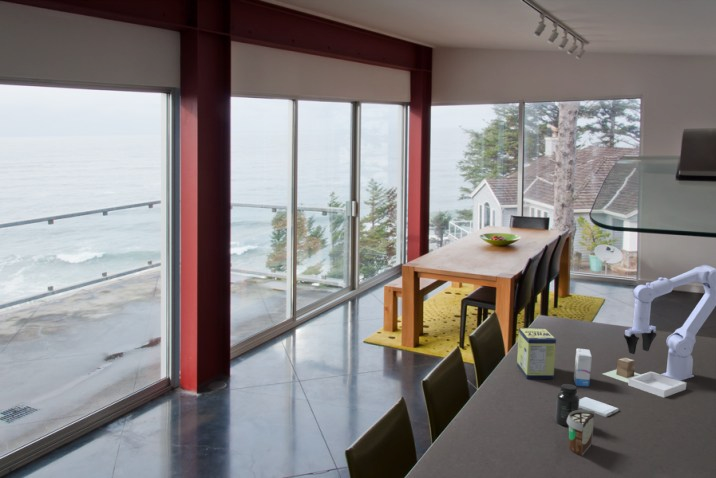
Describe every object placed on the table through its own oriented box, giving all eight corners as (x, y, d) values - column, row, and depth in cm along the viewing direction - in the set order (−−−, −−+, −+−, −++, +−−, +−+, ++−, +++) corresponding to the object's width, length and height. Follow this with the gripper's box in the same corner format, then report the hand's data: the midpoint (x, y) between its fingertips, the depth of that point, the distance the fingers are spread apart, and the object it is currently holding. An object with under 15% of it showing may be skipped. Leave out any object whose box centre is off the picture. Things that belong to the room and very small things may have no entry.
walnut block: (623, 372, 271) (625, 357, 270) (634, 376, 268) (635, 360, 267) (616, 374, 269) (617, 359, 268) (626, 378, 265) (627, 362, 264)
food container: (572, 437, 215) (574, 405, 214) (593, 442, 212) (595, 410, 210) (558, 451, 205) (561, 419, 204) (580, 457, 202) (582, 424, 200)
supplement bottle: (558, 416, 231) (560, 381, 229) (579, 421, 227) (582, 385, 225) (552, 423, 225) (555, 387, 223) (574, 428, 221) (577, 392, 219)
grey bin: (650, 379, 266) (650, 371, 266) (685, 390, 255) (686, 382, 255) (628, 386, 258) (628, 378, 258) (663, 398, 247) (664, 390, 247)
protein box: (542, 365, 280) (544, 327, 277) (554, 379, 264) (556, 339, 262) (516, 365, 279) (518, 327, 277) (526, 379, 264) (528, 339, 261)
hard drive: (572, 402, 240) (606, 413, 231) (585, 396, 245) (619, 407, 236) (572, 406, 240) (605, 418, 231) (585, 401, 246) (618, 412, 236)
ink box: (590, 387, 257) (592, 355, 255) (575, 386, 258) (577, 354, 256) (587, 379, 265) (589, 348, 263) (573, 377, 266) (575, 347, 264)
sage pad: (621, 369, 276) (621, 367, 276) (646, 377, 268) (646, 376, 268) (602, 375, 270) (602, 373, 269) (627, 384, 261) (627, 382, 261)
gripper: (637, 322, 259) (634, 357, 261) (663, 317, 266) (660, 352, 268) (621, 317, 265) (618, 352, 268) (648, 312, 272) (645, 347, 274)
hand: (638, 351), depth 268 cm, fingers open, 7 cm apart
